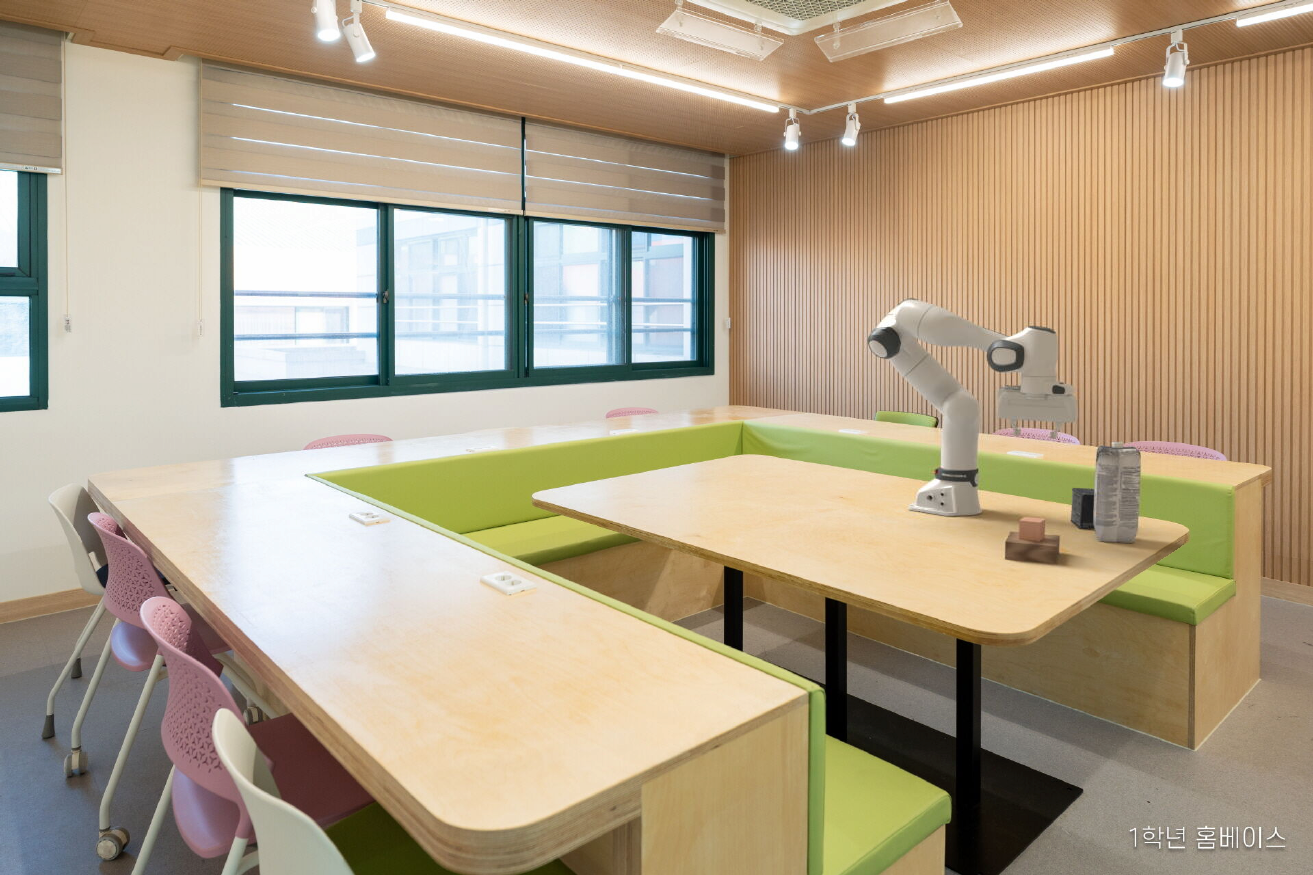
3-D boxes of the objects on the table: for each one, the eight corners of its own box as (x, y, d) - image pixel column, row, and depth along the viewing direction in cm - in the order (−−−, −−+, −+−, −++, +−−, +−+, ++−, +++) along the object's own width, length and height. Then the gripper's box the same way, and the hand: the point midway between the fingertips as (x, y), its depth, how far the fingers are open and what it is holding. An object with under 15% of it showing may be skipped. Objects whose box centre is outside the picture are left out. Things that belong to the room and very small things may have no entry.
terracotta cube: (1018, 539, 223) (1019, 520, 222) (1024, 535, 227) (1025, 516, 226) (1039, 541, 220) (1039, 522, 219) (1044, 537, 224) (1045, 518, 223)
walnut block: (1004, 560, 221) (1005, 541, 221) (1010, 549, 232) (1010, 531, 231) (1056, 565, 216) (1056, 546, 215) (1059, 554, 226) (1059, 535, 225)
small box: (1103, 530, 249) (1105, 494, 248) (1079, 529, 250) (1081, 494, 249) (1093, 521, 259) (1094, 487, 258) (1069, 521, 260) (1071, 487, 259)
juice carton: (1138, 544, 232) (1143, 445, 228) (1095, 542, 235) (1099, 444, 232) (1133, 537, 240) (1138, 441, 236) (1091, 534, 244) (1095, 440, 240)
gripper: (994, 385, 237) (992, 435, 239) (1076, 389, 224) (1072, 441, 226) (1001, 384, 242) (998, 432, 244) (1081, 387, 229) (1077, 438, 231)
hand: (1035, 437), depth 235 cm, fingers open, 8 cm apart
